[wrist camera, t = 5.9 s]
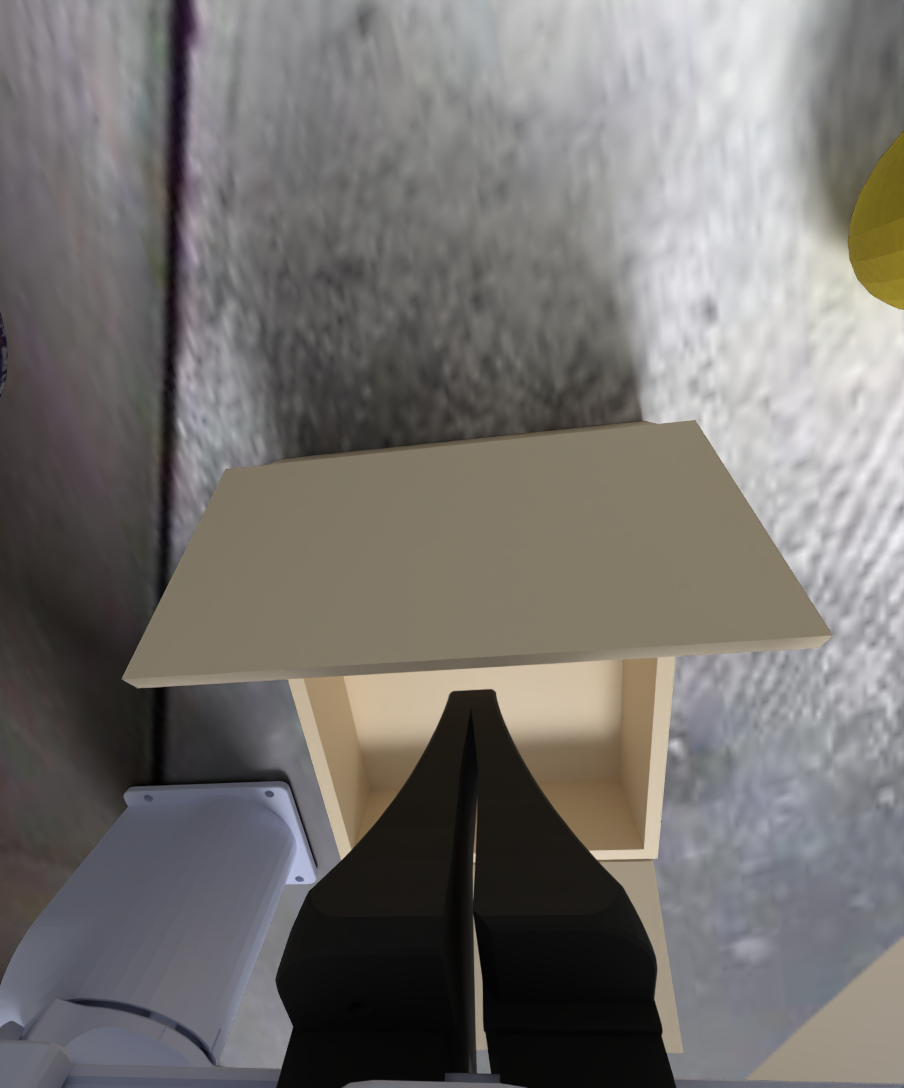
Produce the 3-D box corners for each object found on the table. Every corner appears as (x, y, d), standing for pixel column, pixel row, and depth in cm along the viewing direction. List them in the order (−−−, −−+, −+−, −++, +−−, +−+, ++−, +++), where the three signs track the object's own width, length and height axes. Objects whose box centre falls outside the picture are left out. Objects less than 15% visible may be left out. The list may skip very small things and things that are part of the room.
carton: (364, 787, 23) (342, 865, 20) (282, 458, 17) (228, 479, 13) (626, 778, 22) (657, 858, 18) (643, 420, 16) (695, 432, 12)
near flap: (138, 688, 9) (121, 679, 9) (234, 481, 13) (225, 469, 13) (817, 647, 8) (832, 635, 8) (689, 435, 12) (695, 420, 12)
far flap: (346, 867, 19) (350, 862, 20) (346, 1047, 18) (350, 1037, 18) (653, 861, 18) (649, 856, 19) (683, 1053, 17) (678, 1041, 17)
